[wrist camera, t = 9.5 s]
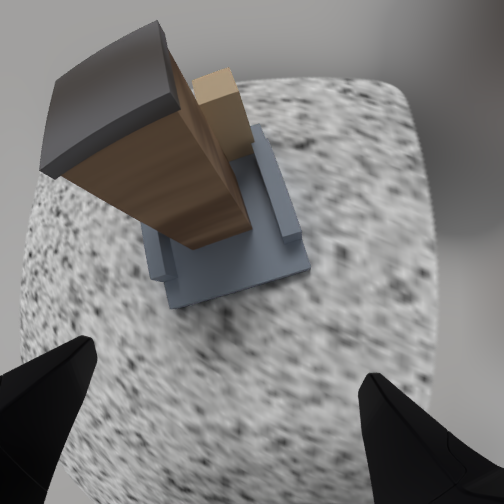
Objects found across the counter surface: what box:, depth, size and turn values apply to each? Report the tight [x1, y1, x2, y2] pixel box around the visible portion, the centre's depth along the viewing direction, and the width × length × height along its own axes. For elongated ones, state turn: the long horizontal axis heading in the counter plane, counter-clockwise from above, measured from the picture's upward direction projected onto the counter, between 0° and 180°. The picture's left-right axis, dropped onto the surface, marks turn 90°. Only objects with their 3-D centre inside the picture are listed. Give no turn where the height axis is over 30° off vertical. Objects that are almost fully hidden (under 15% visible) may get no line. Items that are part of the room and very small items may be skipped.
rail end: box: [39, 20, 253, 250], centre depth 14 cm, size 5×5×14 cm
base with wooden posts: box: [141, 67, 311, 309], centre depth 17 cm, size 12×10×8 cm
